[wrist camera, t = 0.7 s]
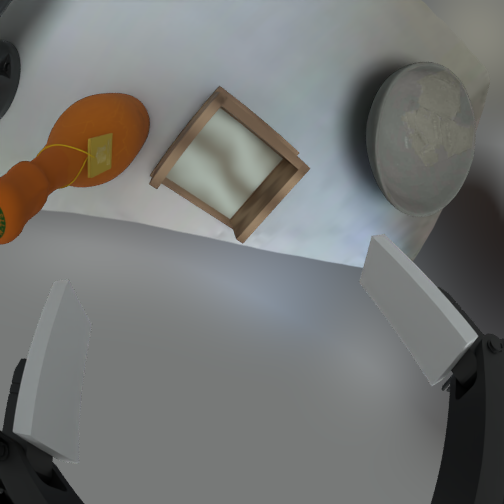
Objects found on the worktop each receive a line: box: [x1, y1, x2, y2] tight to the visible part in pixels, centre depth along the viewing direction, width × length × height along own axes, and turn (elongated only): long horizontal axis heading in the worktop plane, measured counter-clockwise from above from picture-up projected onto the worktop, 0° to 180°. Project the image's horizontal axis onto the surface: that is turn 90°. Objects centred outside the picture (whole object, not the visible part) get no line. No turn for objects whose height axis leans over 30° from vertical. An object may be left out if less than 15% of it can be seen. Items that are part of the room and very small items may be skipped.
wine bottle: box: [0, 93, 150, 244], centre depth 21 cm, size 10×10×30 cm
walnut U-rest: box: [149, 86, 310, 243], centre depth 37 cm, size 16×16×7 cm
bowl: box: [366, 62, 476, 217], centre depth 38 cm, size 26×26×10 cm
